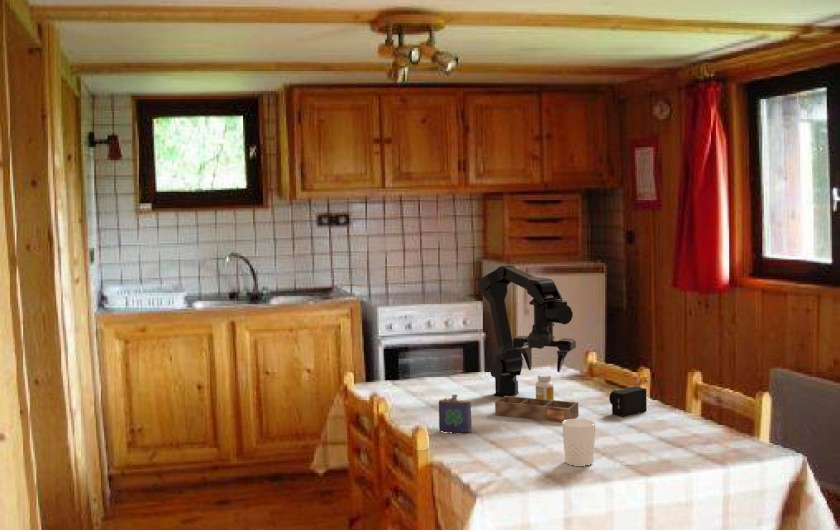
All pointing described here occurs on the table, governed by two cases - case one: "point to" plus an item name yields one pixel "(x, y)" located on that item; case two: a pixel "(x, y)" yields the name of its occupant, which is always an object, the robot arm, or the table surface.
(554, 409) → the bottle rack
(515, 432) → the table surface
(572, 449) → the white cup
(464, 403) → the flask
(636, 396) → the digital camera
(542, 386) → the supplement bottle
